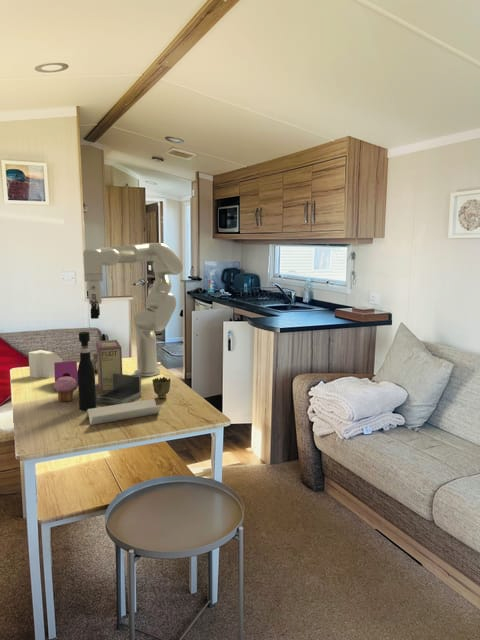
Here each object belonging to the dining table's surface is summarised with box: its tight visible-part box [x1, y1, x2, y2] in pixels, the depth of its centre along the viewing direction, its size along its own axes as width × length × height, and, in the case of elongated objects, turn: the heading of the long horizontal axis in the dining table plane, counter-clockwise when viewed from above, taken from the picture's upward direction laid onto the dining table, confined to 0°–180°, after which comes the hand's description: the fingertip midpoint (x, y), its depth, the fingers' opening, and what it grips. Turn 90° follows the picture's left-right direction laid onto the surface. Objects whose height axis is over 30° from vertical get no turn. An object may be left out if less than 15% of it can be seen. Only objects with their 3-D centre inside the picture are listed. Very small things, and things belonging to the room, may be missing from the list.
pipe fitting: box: [91, 351, 98, 373], centre depth 244 cm, size 12×8×10 cm
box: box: [95, 339, 123, 395], centre depth 214 cm, size 17×9×20 cm, turn 21°
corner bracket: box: [28, 349, 64, 379], centre depth 235 cm, size 11×11×12 cm
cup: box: [151, 376, 171, 400], centre depth 200 cm, size 8×7×8 cm
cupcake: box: [53, 376, 78, 402], centre depth 197 cm, size 9×9×10 cm
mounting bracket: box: [54, 360, 78, 391], centre depth 218 cm, size 10×9×19 cm
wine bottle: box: [77, 331, 98, 412], centre depth 186 cm, size 6×6×30 cm
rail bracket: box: [96, 373, 142, 406], centre depth 197 cm, size 13×13×9 cm
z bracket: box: [85, 398, 163, 426], centre depth 178 cm, size 12×25×6 cm
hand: (95, 316), depth 211 cm, fingers open, 9 cm apart
